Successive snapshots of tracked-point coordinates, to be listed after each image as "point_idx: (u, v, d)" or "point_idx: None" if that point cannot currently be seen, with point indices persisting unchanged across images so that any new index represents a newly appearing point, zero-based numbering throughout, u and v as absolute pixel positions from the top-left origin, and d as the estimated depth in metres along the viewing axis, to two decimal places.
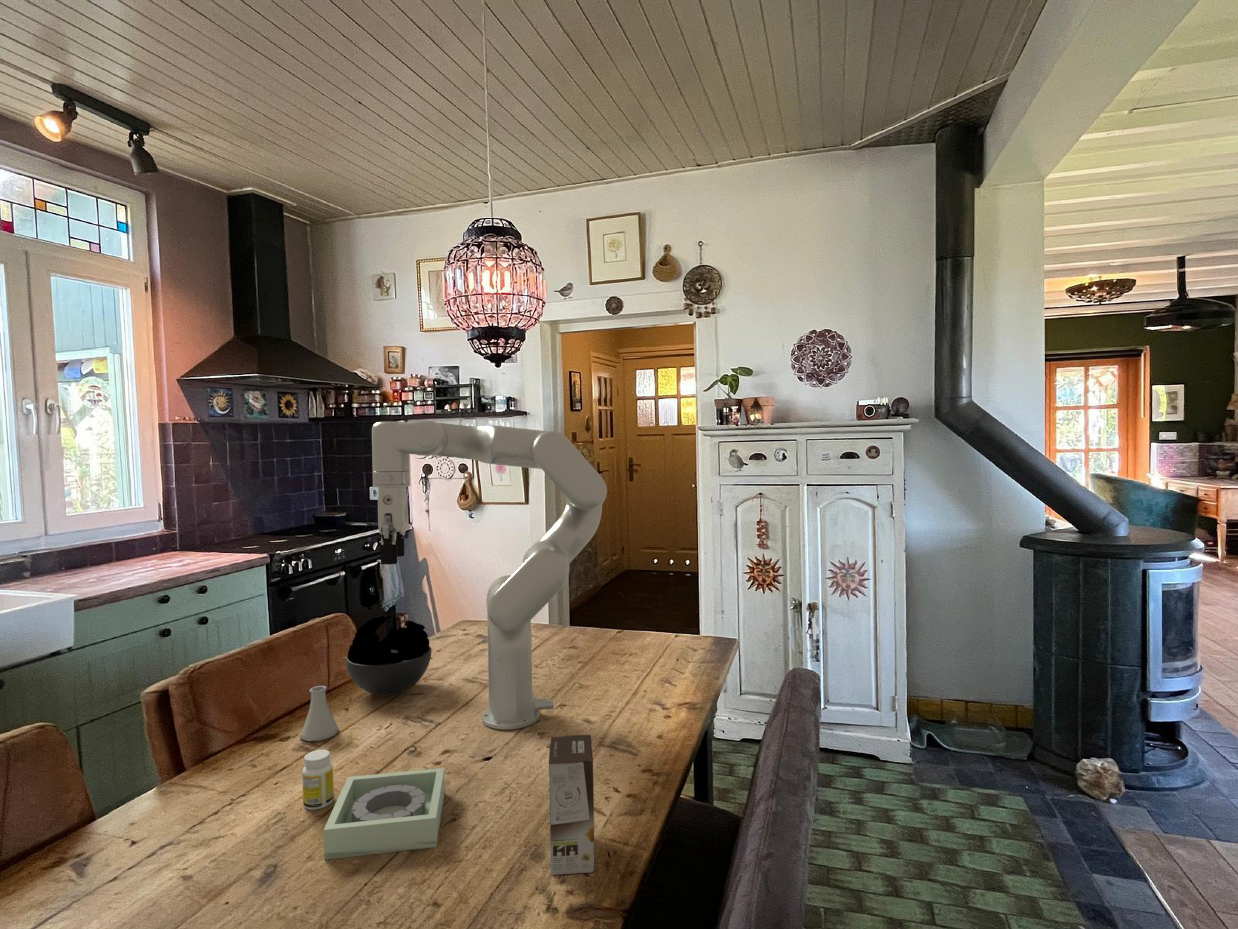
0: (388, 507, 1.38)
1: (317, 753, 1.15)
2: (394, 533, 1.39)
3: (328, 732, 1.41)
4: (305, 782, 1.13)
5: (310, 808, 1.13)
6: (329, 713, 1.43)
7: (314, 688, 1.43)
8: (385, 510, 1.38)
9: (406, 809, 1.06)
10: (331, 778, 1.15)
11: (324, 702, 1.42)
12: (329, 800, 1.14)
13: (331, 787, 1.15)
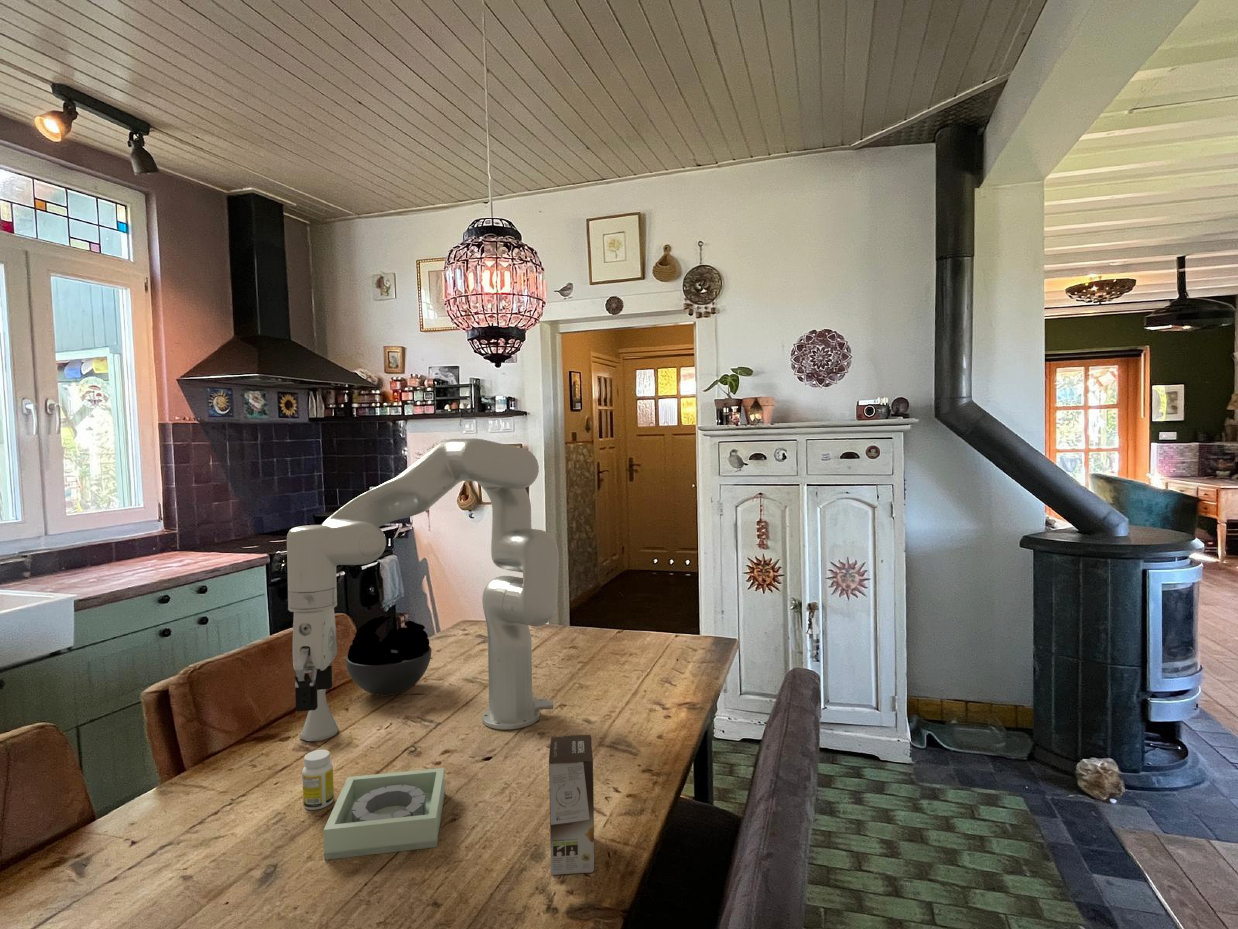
0: (305, 638, 1.09)
1: (317, 753, 1.15)
2: (313, 671, 1.10)
3: (328, 732, 1.41)
4: (305, 782, 1.13)
5: (310, 808, 1.13)
6: (329, 713, 1.43)
7: None
8: (302, 643, 1.09)
9: (406, 809, 1.06)
10: (331, 778, 1.15)
11: (324, 702, 1.42)
12: (329, 800, 1.14)
13: (331, 787, 1.15)
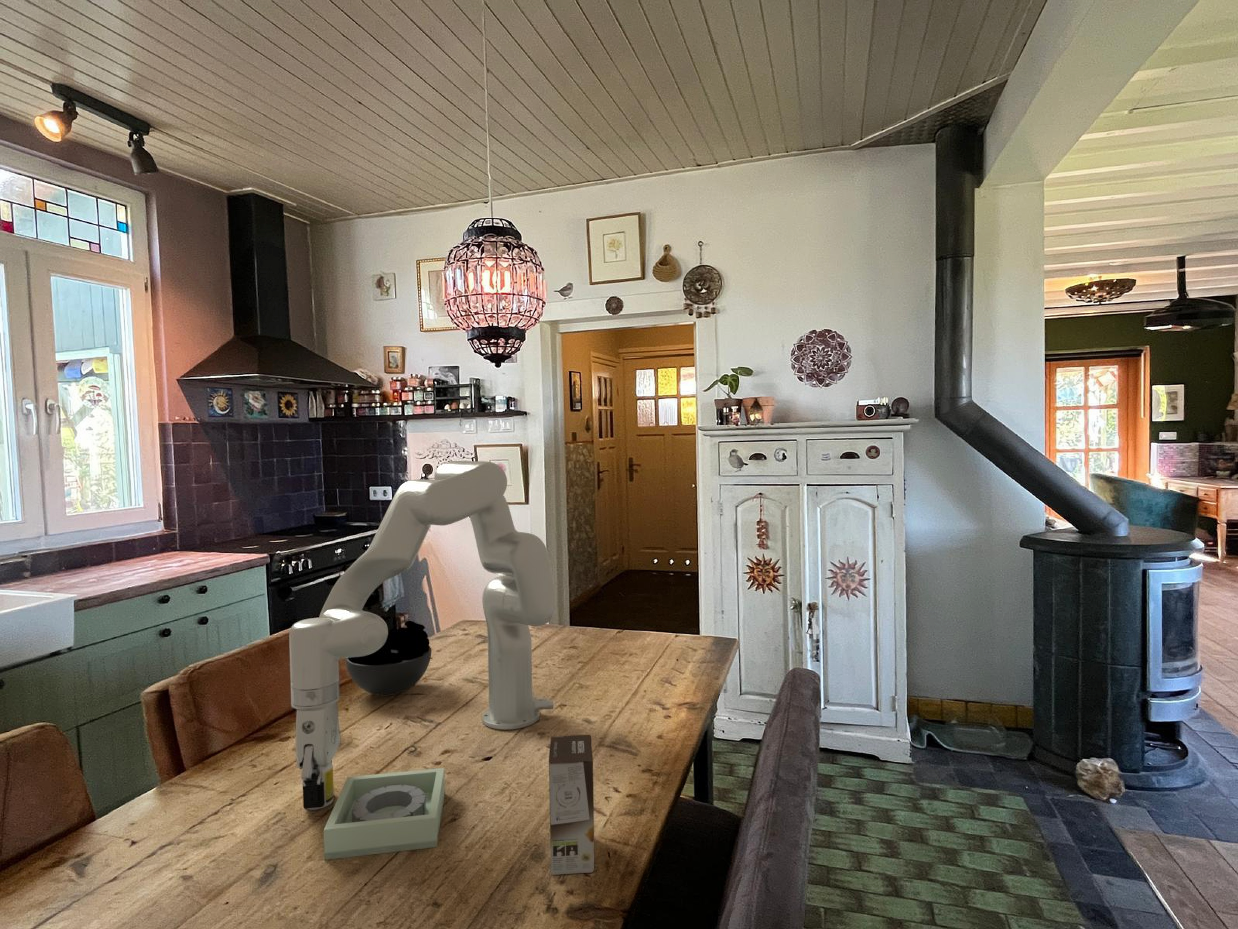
0: (308, 736, 1.10)
1: None
2: (319, 770, 1.12)
3: None
4: None
5: (310, 808, 1.13)
6: None
7: None
8: (305, 741, 1.10)
9: (406, 809, 1.06)
10: (331, 778, 1.15)
11: None
12: (329, 800, 1.14)
13: (331, 787, 1.15)
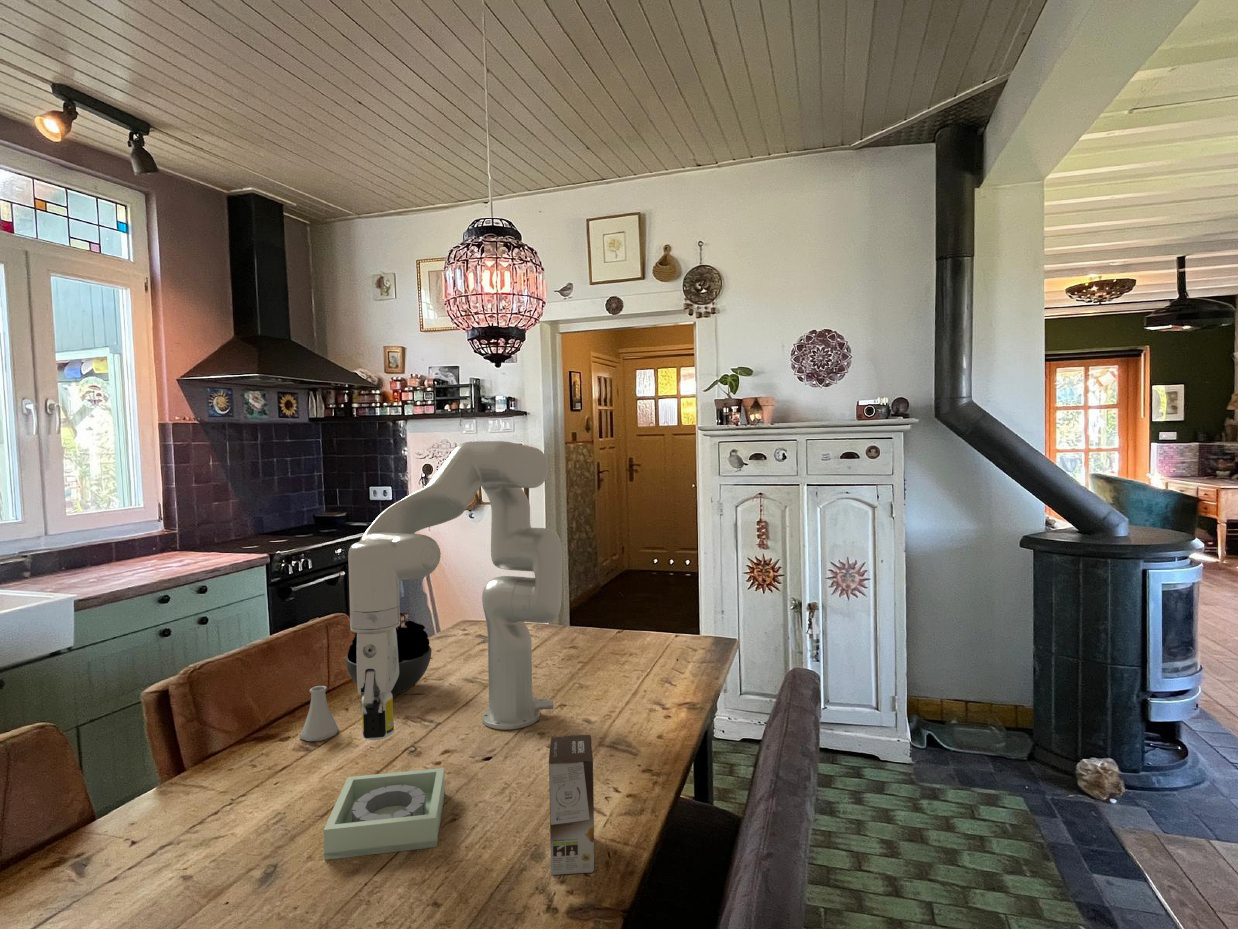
0: (370, 661, 1.04)
1: None
2: (380, 698, 1.05)
3: (328, 732, 1.41)
4: None
5: (370, 738, 1.07)
6: (329, 713, 1.43)
7: (314, 688, 1.43)
8: (367, 665, 1.04)
9: (406, 809, 1.06)
10: (391, 708, 1.09)
11: (324, 702, 1.42)
12: (389, 731, 1.08)
13: (391, 717, 1.09)
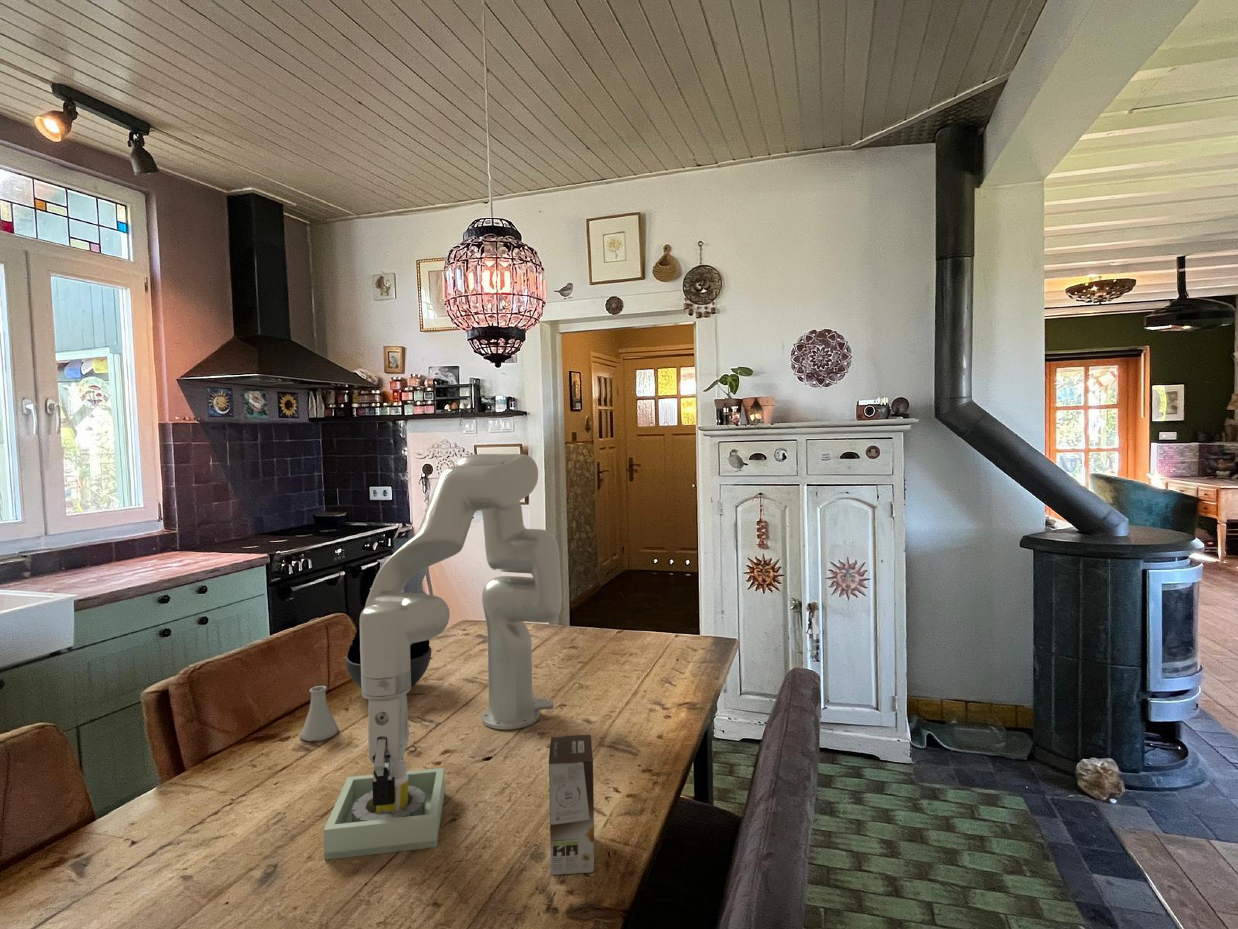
0: (382, 728, 1.03)
1: (394, 762, 1.09)
2: (391, 763, 1.04)
3: (328, 732, 1.41)
4: None
5: None
6: (329, 713, 1.43)
7: (314, 688, 1.43)
8: (379, 733, 1.03)
9: (406, 809, 1.06)
10: (406, 791, 1.08)
11: (324, 702, 1.42)
12: None
13: (405, 801, 1.08)
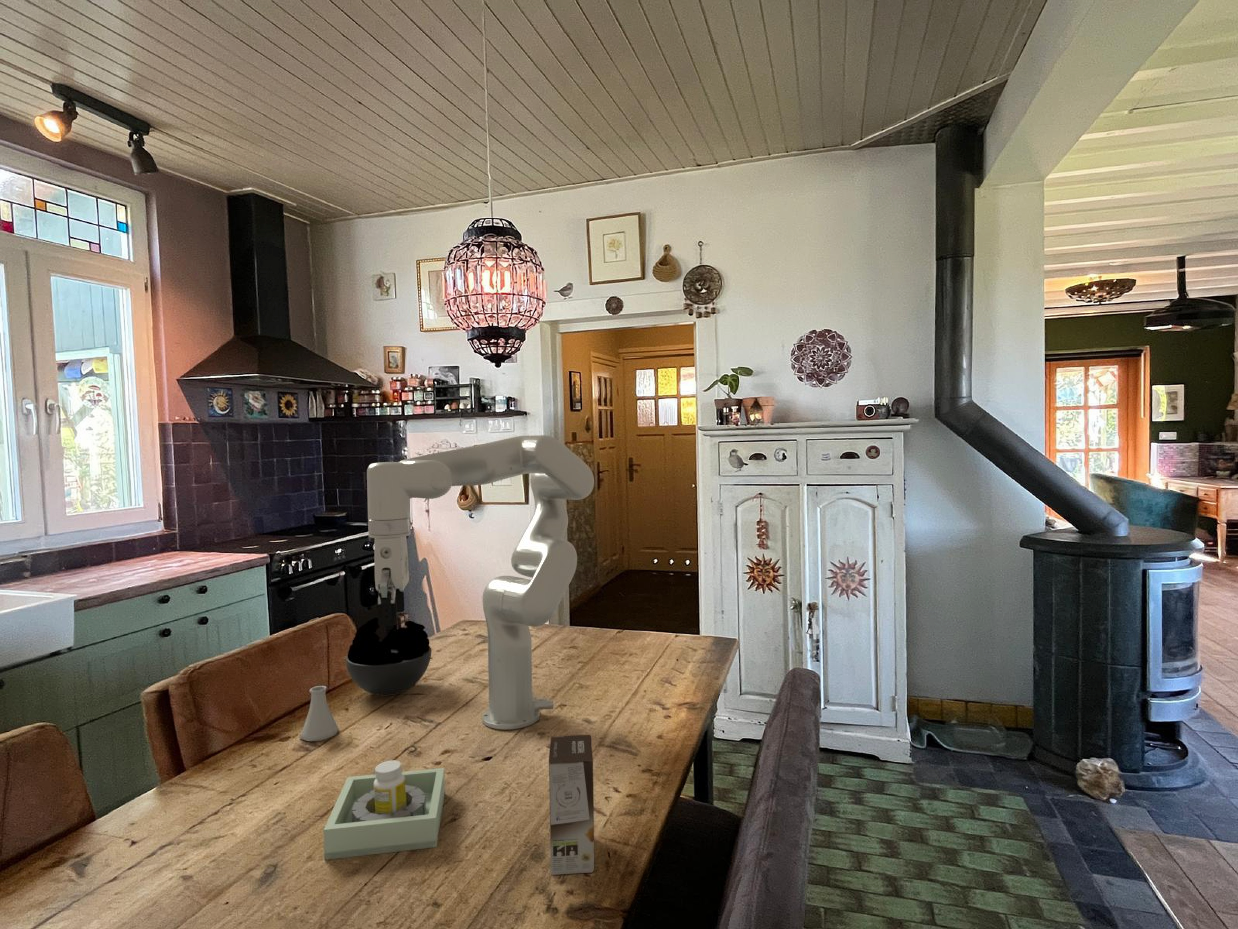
0: (386, 561, 1.22)
1: (389, 764, 1.09)
2: (393, 590, 1.22)
3: (328, 732, 1.41)
4: (376, 795, 1.06)
5: None
6: (329, 713, 1.43)
7: (314, 688, 1.43)
8: (383, 564, 1.22)
9: (406, 809, 1.06)
10: (402, 792, 1.08)
11: (324, 702, 1.42)
12: None
13: (403, 801, 1.08)
